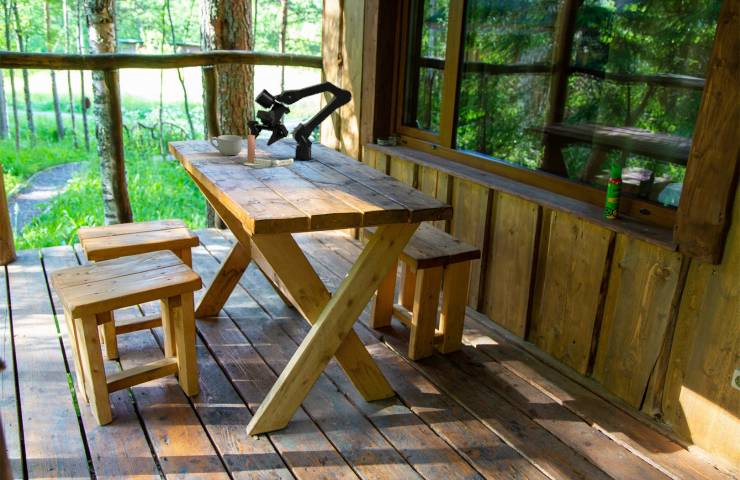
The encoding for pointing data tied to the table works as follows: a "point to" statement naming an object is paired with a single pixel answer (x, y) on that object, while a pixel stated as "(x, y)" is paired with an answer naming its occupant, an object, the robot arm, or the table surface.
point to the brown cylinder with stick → (252, 152)
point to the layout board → (258, 165)
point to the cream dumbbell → (283, 162)
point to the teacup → (228, 144)
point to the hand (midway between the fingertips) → (258, 144)
